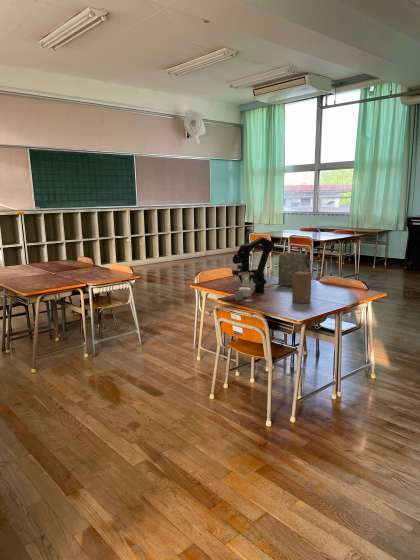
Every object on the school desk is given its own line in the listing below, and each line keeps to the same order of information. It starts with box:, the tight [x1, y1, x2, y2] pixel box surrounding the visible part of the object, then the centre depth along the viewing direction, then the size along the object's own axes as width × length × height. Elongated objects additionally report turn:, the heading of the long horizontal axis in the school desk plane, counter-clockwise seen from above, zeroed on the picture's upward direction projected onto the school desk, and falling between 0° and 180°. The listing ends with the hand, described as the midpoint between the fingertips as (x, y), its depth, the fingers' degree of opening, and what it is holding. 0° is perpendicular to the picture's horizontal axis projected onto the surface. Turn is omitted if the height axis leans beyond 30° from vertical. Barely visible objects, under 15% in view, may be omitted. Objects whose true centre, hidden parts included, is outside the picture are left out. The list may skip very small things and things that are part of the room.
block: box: [291, 271, 312, 305], centre depth 277 cm, size 10×10×20 cm
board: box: [242, 298, 257, 303], centre depth 282 cm, size 8×6×1 cm
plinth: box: [238, 287, 252, 297], centre depth 300 cm, size 8×8×5 cm
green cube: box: [240, 277, 250, 287], centre depth 298 cm, size 5×5×5 cm
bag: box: [277, 251, 311, 288], centre depth 327 cm, size 22×16×27 cm
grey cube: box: [233, 290, 244, 301], centre depth 288 cm, size 5×5×5 cm
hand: (245, 283), depth 298 cm, fingers closed on green cube, 5 cm apart
